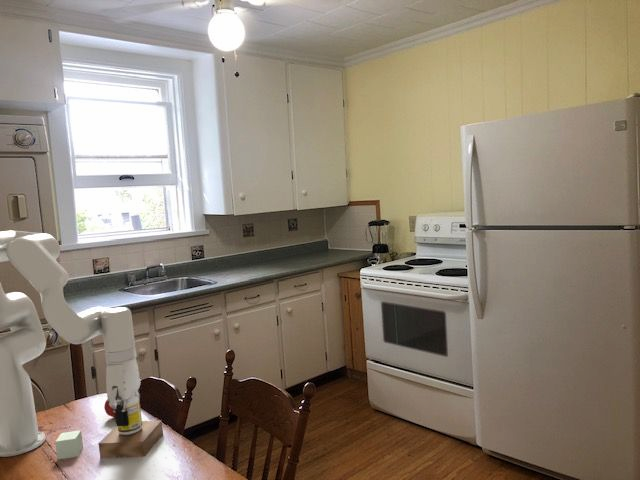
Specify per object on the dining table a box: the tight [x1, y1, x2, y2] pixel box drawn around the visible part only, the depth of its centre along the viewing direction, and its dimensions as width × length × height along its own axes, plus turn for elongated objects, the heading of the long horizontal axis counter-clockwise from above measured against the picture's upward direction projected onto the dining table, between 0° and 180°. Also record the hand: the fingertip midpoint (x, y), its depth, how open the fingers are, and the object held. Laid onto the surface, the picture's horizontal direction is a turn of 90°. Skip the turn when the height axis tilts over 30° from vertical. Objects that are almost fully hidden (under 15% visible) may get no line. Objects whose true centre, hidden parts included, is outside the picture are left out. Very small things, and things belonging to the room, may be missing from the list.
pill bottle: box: [118, 389, 143, 435], centre depth 138 cm, size 6×6×11 cm
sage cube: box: [54, 429, 84, 460], centre depth 138 cm, size 5×5×5 cm
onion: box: [103, 398, 116, 419], centre depth 158 cm, size 6×6×8 cm
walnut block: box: [97, 419, 164, 459], centre depth 139 cm, size 12×12×4 cm
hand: (129, 419), depth 138 cm, fingers closed on pill bottle, 6 cm apart
